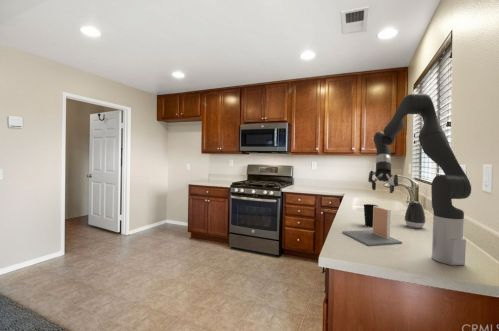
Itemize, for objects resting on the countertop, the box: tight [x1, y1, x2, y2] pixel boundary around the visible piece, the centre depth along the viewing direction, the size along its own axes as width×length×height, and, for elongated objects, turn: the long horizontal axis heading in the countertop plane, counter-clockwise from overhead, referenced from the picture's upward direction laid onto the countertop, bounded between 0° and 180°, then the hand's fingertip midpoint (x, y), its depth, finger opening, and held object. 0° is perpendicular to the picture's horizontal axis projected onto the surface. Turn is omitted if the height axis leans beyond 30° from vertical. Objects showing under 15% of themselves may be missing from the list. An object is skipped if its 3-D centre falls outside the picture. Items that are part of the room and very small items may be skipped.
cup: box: [363, 203, 378, 228], centre depth 147 cm, size 8×8×12 cm
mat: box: [341, 229, 403, 247], centre depth 124 cm, size 20×18×1 cm
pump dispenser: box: [404, 200, 427, 229], centre depth 146 cm, size 10×10×15 cm
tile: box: [372, 205, 392, 239], centre depth 126 cm, size 10×2×14 cm, turn 13°
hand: (382, 191), depth 133 cm, fingers open, 8 cm apart
